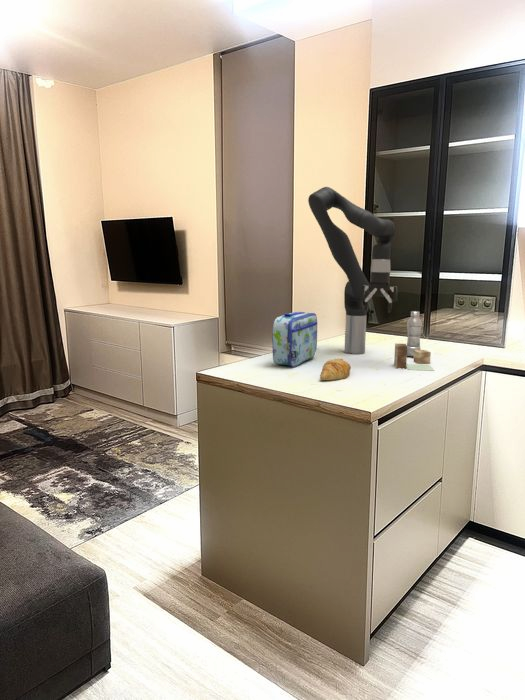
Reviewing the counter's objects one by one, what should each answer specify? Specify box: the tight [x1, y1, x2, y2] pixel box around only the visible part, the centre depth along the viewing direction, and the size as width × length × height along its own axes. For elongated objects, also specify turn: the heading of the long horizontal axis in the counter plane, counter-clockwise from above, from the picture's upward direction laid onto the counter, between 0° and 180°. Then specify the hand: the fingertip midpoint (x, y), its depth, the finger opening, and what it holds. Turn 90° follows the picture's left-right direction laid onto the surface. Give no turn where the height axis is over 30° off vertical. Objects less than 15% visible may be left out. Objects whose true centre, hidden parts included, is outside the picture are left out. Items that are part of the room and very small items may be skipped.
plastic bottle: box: [406, 310, 423, 358], centre depth 228 cm, size 6×7×20 cm
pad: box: [406, 363, 435, 372], centre depth 208 cm, size 10×10×1 cm
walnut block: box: [393, 343, 408, 370], centre depth 208 cm, size 4×6×9 cm, turn 172°
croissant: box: [319, 358, 352, 381], centre depth 192 cm, size 21×10×8 cm, turn 146°
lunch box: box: [271, 311, 318, 368], centre depth 215 cm, size 26×11×21 cm, turn 150°
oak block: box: [413, 349, 432, 365], centre depth 217 cm, size 5×5×5 cm
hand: (377, 311), depth 209 cm, fingers open, 8 cm apart
